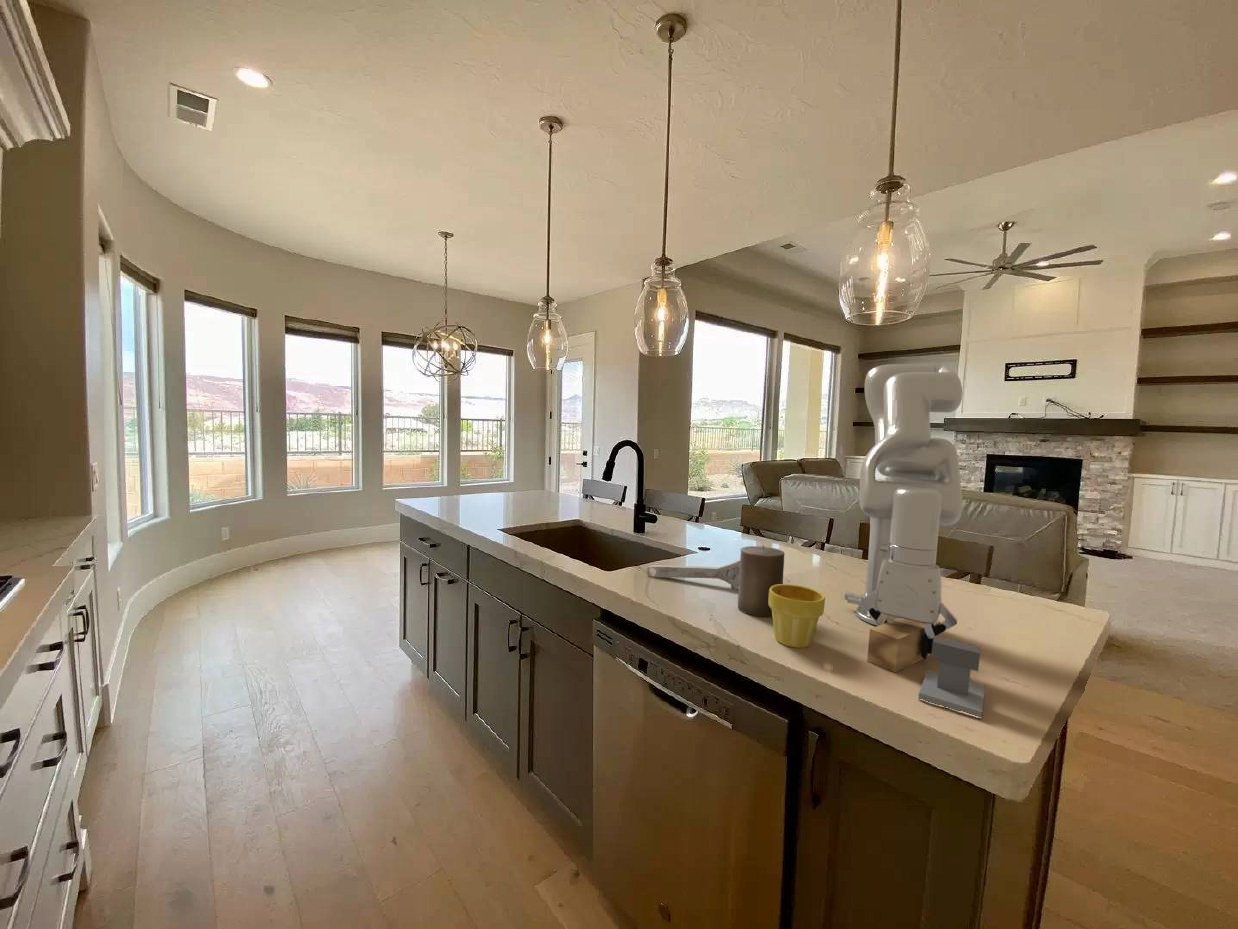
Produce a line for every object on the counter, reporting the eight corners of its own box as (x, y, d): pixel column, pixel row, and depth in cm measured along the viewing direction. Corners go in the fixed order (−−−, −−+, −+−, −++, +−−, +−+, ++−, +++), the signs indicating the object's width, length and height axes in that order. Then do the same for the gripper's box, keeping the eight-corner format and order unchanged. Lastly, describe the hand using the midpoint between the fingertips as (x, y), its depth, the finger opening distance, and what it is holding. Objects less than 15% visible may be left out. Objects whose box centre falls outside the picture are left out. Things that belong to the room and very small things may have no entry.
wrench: (649, 585, 141) (761, 589, 130) (647, 586, 140) (760, 591, 128) (647, 556, 141) (759, 558, 130) (645, 557, 139) (758, 559, 128)
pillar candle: (786, 618, 112) (791, 550, 111) (741, 616, 112) (745, 548, 111) (774, 603, 122) (778, 541, 121) (733, 601, 122) (737, 539, 121)
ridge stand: (918, 700, 79) (923, 647, 79) (926, 676, 87) (931, 628, 87) (981, 720, 75) (986, 663, 74) (984, 693, 82) (989, 642, 82)
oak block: (867, 661, 92) (869, 628, 92) (910, 642, 102) (913, 612, 101) (895, 672, 88) (898, 639, 88) (937, 652, 98) (940, 621, 97)
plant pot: (833, 646, 98) (837, 596, 98) (795, 656, 93) (799, 604, 92) (791, 626, 107) (794, 581, 106) (754, 635, 102) (757, 587, 101)
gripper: (856, 550, 96) (848, 643, 97) (967, 569, 85) (957, 673, 87) (865, 543, 102) (858, 631, 103) (970, 560, 91) (961, 658, 93)
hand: (903, 649), depth 95 cm, fingers closed on oak block, 6 cm apart
